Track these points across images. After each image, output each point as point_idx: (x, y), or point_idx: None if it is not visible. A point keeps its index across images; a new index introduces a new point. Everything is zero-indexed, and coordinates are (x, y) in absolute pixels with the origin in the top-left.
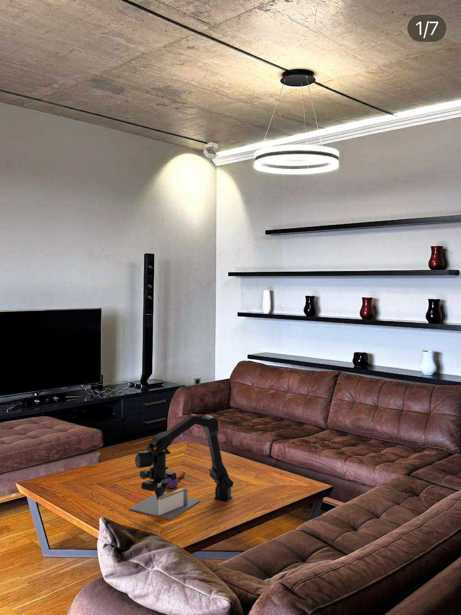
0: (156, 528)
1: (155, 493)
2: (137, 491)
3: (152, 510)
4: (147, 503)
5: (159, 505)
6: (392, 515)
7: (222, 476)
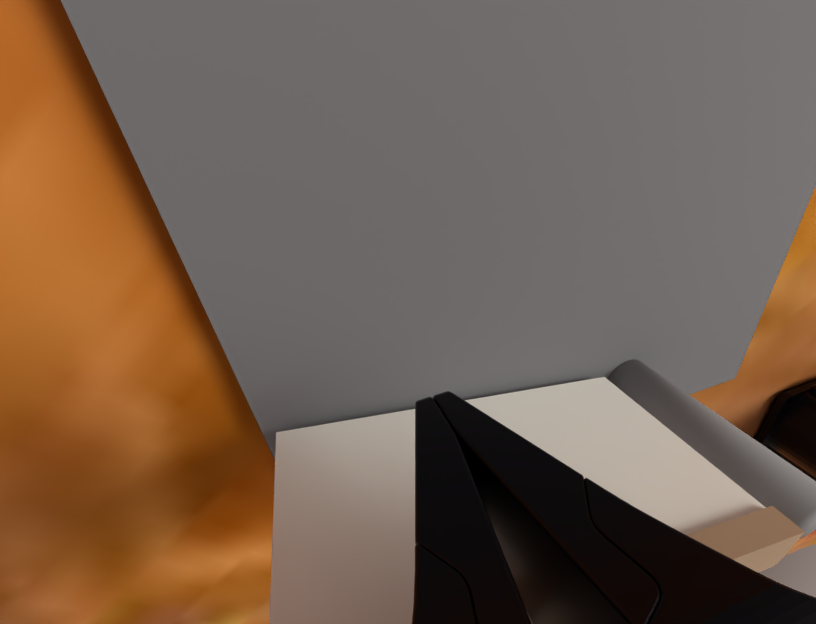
0: (70, 598)
1: (416, 532)
2: None
3: (318, 272)
4: None
5: (273, 561)
6: None
7: None
